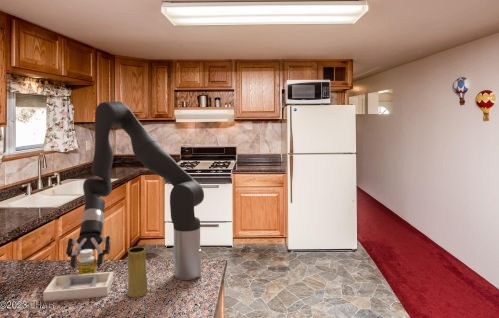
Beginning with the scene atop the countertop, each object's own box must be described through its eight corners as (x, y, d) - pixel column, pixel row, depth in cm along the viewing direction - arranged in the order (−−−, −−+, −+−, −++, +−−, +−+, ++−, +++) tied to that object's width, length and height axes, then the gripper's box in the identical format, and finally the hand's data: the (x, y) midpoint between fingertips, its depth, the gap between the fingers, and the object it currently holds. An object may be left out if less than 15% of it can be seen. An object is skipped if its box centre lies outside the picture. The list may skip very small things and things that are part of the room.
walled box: (113, 280, 117) (113, 271, 117) (107, 295, 107) (107, 286, 106) (55, 285, 113) (55, 276, 113) (43, 302, 103) (43, 292, 102)
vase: (151, 290, 111) (150, 247, 109) (139, 299, 105) (138, 254, 103) (135, 287, 113) (134, 245, 111) (123, 295, 107) (121, 251, 105)
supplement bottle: (94, 272, 123) (93, 246, 122) (97, 278, 119) (96, 251, 118) (78, 276, 120) (76, 249, 119) (80, 282, 116) (79, 254, 115)
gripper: (68, 219, 123) (60, 263, 113) (111, 217, 126) (106, 260, 116) (73, 229, 129) (66, 272, 119) (114, 227, 132) (110, 268, 122)
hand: (86, 266), depth 117 cm, fingers open, 7 cm apart
